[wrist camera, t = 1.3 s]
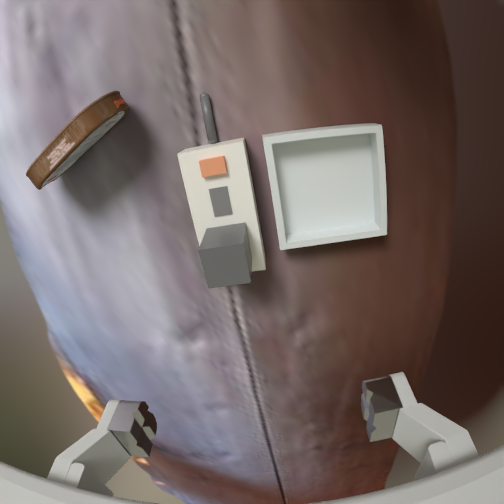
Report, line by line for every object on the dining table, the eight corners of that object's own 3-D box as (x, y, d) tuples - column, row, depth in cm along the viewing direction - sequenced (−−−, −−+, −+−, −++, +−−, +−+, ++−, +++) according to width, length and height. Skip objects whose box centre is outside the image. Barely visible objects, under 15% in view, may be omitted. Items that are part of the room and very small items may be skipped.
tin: (129, 89, 32) (96, 88, 25) (142, 108, 34) (112, 112, 26) (50, 163, 36) (12, 180, 29) (62, 181, 37) (26, 201, 30)
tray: (262, 134, 35) (262, 137, 32) (372, 122, 34) (381, 125, 31) (278, 239, 40) (280, 250, 38) (378, 225, 39) (386, 234, 37)
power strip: (174, 99, 33) (164, 100, 29) (235, 86, 32) (232, 84, 29) (211, 263, 42) (207, 280, 38) (265, 256, 42) (265, 272, 38)
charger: (208, 223, 37) (198, 250, 31) (245, 217, 37) (243, 243, 31) (216, 257, 39) (208, 288, 33) (252, 252, 39) (251, 282, 33)
